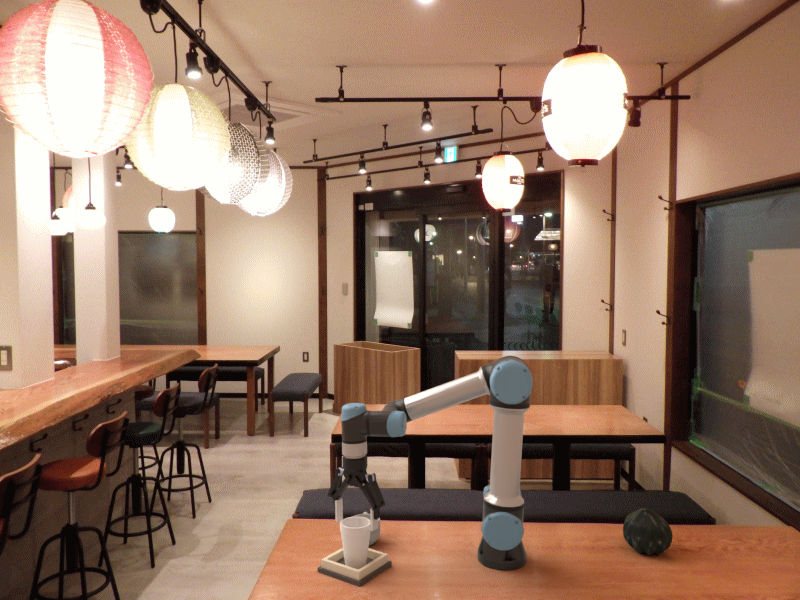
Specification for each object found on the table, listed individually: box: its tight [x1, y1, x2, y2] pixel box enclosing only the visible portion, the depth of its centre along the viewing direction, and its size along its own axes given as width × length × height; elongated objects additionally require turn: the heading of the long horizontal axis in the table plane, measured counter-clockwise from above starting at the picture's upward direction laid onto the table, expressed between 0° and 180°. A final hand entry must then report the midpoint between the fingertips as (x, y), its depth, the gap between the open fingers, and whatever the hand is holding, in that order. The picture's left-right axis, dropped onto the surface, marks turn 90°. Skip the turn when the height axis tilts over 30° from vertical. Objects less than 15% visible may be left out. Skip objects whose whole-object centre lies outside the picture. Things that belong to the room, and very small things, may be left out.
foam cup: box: [339, 516, 371, 569], centre depth 189 cm, size 10×9×13 cm
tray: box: [317, 547, 393, 587], centre depth 189 cm, size 16×16×4 cm
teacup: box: [351, 511, 381, 546], centre depth 209 cm, size 14×11×8 cm
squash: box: [622, 507, 674, 556], centre depth 202 cm, size 14×15×15 cm
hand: (356, 524), depth 188 cm, fingers open, 13 cm apart
